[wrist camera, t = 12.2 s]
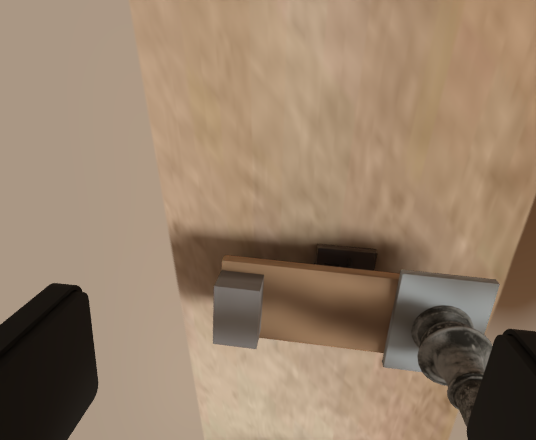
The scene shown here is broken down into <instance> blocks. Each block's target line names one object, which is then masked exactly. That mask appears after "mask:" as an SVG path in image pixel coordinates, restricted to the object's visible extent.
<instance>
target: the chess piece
mask: <svg viewBox="0 0 536 440" xmlns="http://www.w3.org/2000/svg"><path fill="white" fill-rule="evenodd" d="M411 333H412V338H413V341H414V343H415V344H416V346H417V347H418V348H419V351H418V355H417V357H418V365H419V367H420V369H421V371H422V372H423V374H424V375H425V376H426V377H427V378H429V379H430V380H432V381H433V382H435V383H438V384H441V385H446V386H448V390H447V396H448V399H449V401H450V403H451V404H452V405H453V406H454V407H455V408H457V409H458V410H460V413H461V415H462V417H463V419H464V422H465V424H466V426H467V425H468V421H469V418H470V415H471V412H472V409H473V406H474V403H475V399H476V396H477V393H478V390H479V387H480V384H481V381H482V378H483V375H484V371H485V368H486V365H487V362H488V359H489V356H490V353H491V350H492V344H491V342H490V341H489V339H488V338H487V337H486V336H485V335H484V334H482V333H481V332H479V331H478V330H476V329H474V327H473V323H472V320H471V318H470V317H469V316H468V315H467V314H466V313H465V312H464V311H462V310H461V309H459V308H456V307H453V306H446V305H443V306H435V307H432V308H429V309H427V310H425V311H424V312H422V313H421V314H420V315H419V316H418V317H417V318H416V319H415V321H414V323H413V325H412V330H411Z"/></svg>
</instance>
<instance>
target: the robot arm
mask: <svg viewBox="0 0 536 440" xmlns="http://www.w3.org/2000/svg"><path fill="white" fill-rule="evenodd" d="M97 389H98V376H97V367H96V359H95V350H94V342H93V333H92V324H91V315H90V307H89V299H88V295H87V294H86V293H84V292H82V289H81V288H80V287H79V286H77V285H68V284H58V283H53V284H51V285H49V286H47V287H46V288H45V289H44V290H43V291H41V292H40V293H39V294H38V295H36V296H35V297H34V298H33V299H32V300H30V301H29V302H28V303H27V304H26V305H24V306H23V307H22V308H20V309H19V310H18V311H17V312H16V313H14V314H13V315H12V316H11V317H9V318H8V319H7V320H6V321H4V322H3V323H2V324H1V325H0V440H67V439H68V438H69V436H70V435H71V433H72V432H73V430H74V429H75V427H76V425H77V424H78V423H79V421H80V420H81V418H82V416H83V415H84V413H85V412H86V410H87V409H88V407H89V406H90V404H91V403H92V401H93V400H94V398H95V396H96V393H97ZM467 437H468V440H536V332H535V331H526V330H516V329H508V330H506V331H505V332H504V333H503V335H498V336H497V337H496V338H495V340H494V343H493V346H492V350H491V353H490V356H489V359H488V362H487V365H486V368H485V371H484V375H483V378H482V381H481V384H480V387H479V390H478V393H477V396H476V399H475V403H474V406H473V409H472V412H471V415H470V418H469V421H468V425H467Z"/></svg>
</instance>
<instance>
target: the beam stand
mask: <svg viewBox="0 0 536 440" xmlns="http://www.w3.org/2000/svg"><path fill="white" fill-rule="evenodd" d="M376 256H377V252H376V250H375V249H367V248H356V247H345V246H334V245H323V244H318V246H317V254H316V263H315V265H324V266H333V267H343V268H352V269H361V270H371V271H374V268H375V262H376Z"/></svg>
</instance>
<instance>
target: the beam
mask: <svg viewBox="0 0 536 440" xmlns="http://www.w3.org/2000/svg"><path fill="white" fill-rule="evenodd" d="M499 285H500V284H499V283H498V282H497V281H496V280H495V279H486V278H477V277H467V276H458V275H448V274H439V273H429V272H420V271H410V270H401V271H400V274H399V273H389V272H380V271H371V270H361V269H352V268H343V267H333V266H324V265H315V264H305V263H296V262H287V261H277V260H268V259H258V258H249V257H240V256H230V255H225V256H224V257H223V259H222V271H221V273H220V275H219V277H218V279H217V281H216V283H215V285H214V313H213V344H220V345H227V346H235V347H243V348H251V349H256V348H257V344H258V339H259V338H267V339H275V340H283V341H291V342H299V343H307V344H315V345H323V346H331V347H339V348H347V349H355V350H363V351H371V352H379V353H384V355H383V360H382V363H383V367H386V368H393V369H401V370H409V371H417V372H422V371H421V369H420V367H419V365H418V357H417V355H418V351H419V348H418V347H417V346H416V344H415V343H414V341H413V338H412V333H411V330H412V325H413V323H414V321H415V319H416V318H417V317H418V316H419V315H420V314H421V313H422V312H424V311H425V310H427V309H429V308H432V307H435V306H443V305H446V306H453V307H456V308H459V309H461V310H462V311H464V312H465V313H466V314H467V315H468V316H469V317H470V318H471V320H472V323H473V327H474V329H476V330H478V331H479V332H481V333H482V334H485V330H486V327H487V324H488V321H489V317H490V314H491V311H492V308H493V304H494V301H495V298H496V295H497V291H498V288H499Z"/></svg>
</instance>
